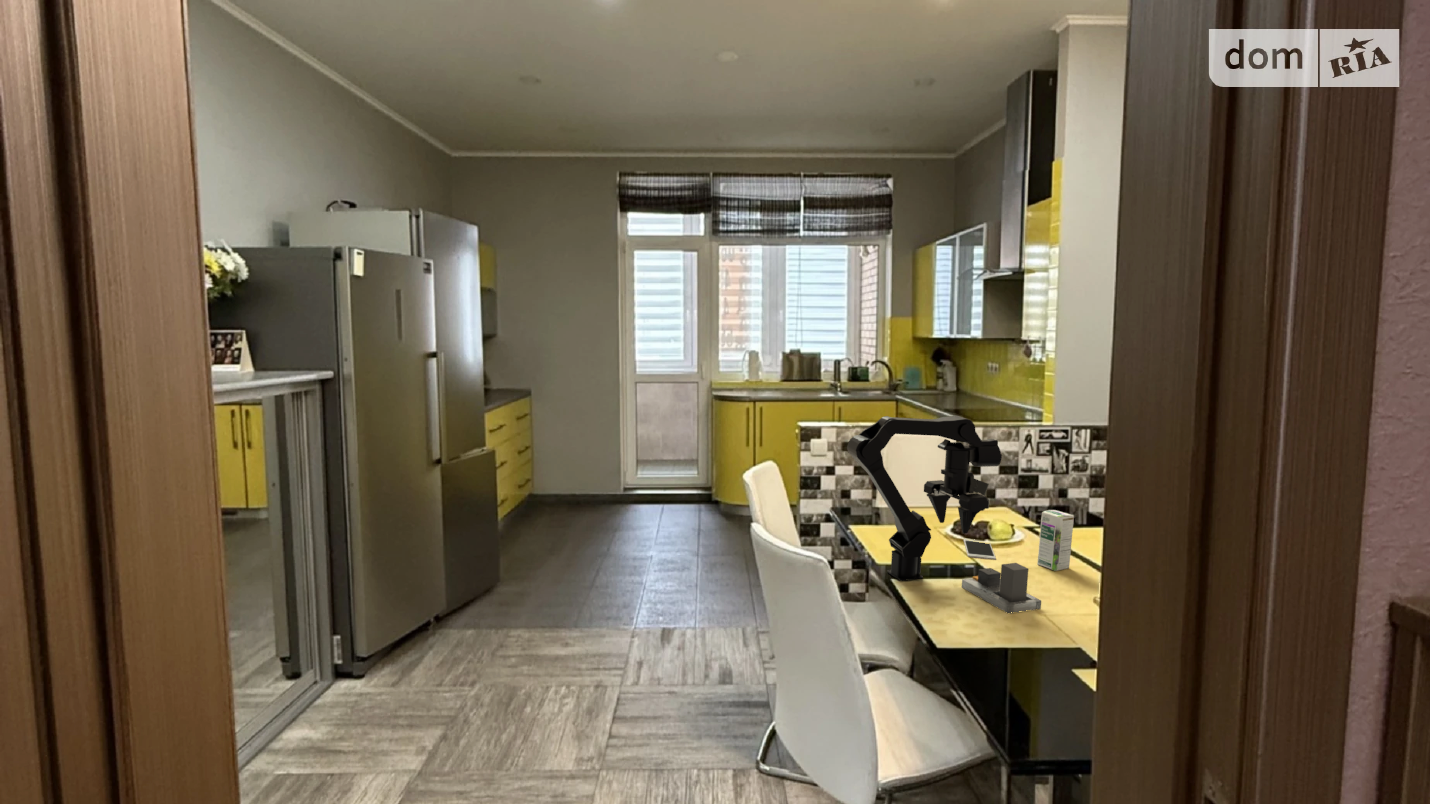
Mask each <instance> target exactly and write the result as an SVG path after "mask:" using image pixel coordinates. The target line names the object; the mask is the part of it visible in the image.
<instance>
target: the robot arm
mask: <svg viewBox="0 0 1430 804" xmlns="http://www.w3.org/2000/svg"><path fill="white" fill-rule="evenodd" d="M895 435H911V436H914V435H916V436H932V437H933V436H935V437H941V438H944V440H943V441H942V442H940V443H939V444H938V445H937V448H939V449H941V450H943V451H945V460H944V469H942V468H941V469H940V474H942V475H944V477H943V480H941V479H937V480H927V481H926V482H925V483H924V485H923V492H924V493H926V497H928V499H929V502H930V503H931V506H932V507H933V510H934V512H935V514H936V516H937V518H938V519H937V520H938V522H939V523H940V524H944V523H945V519H946V513H947V507H948V502H949V500H950V498H953V499H956V500H958V505H959V507H958V506H957V509H958V516H959V521H960V528H961V531H962V534H964V535H965V534H967V533H969V530H970V528H971V526H972V523H973V522H974V519H975V518H976V516H977V514H979V513H980V512H983V511H985V510H986V509H987V510H988V509H989V508H990V500H989V497H987V496H985V495H986V493H987V490H988V487H989V485H990V484H989V483H988V482H984V481H982V480H980V479H977V478H975V475H974V473H973V472H972V471H970V464H971V465H972V466H973V467H975V468H977V467H978V468H979V467H982V468H983V467H987V468H988V467H998V466H1000V464H1001V463H1002V456H1003V455H1002V453H1001V452H1002V451H1001V449H1000V447H999V444H998V442H999V441H998V440H997V439H994V438H987V439H981V438H980V436H979V434H978V433H977V431H976V425H975V423H974V422H973V421H972V420H971V419H968V418H965V417H962V416H959V415H947V416H942V417H938V418H933V419H931V418H914V417H913V418H911V417H910V418H909V417H891V416H889V415H886V416H882V417H880V418H879V419H878V420H877V421H876V422H875V423H874V424H873V423H872V425H870V426H868V427H867V428H865V429H863V430H862V431H861V432H860V433H859V434H858V435H857V434H856V435H854V436H852V437H851V438H850V439H849V441H848V442H847V446H846V449H847V452H848V454H849V455H850V456H851V457H852V459H853V460H854V461H855V462H856V463H858V465H859V466H860V467H861V468H862V469H863V470H864V471H865V472H866V473H867V474H868V476H869V478H870V480H871V481H872V483H873V485H874V487H875V488H876V490H877V492H878V493H879V495H880V496H881V498H882V500H883V501H884V502H885V503H884V504H886V506H887V508H888V509H889V511H890V512H891V514H892V516H893V518H894V524H895V526H894V527H895V528H896V532H895V533H893V535H892V536H891V537H890V538H889V539H888V542H889V544H890V547H891V548H893V549H894V550H891V565H890V569H888V570H886V571H887V574H889V575H890V576H892V577H894V578H896V579H897V580H899V581H903V582H904V581H912V580H921V579H923V578H924V577H923V576H924V575H921V570H922V569H921V568H922V557H923V555H924V552H925V550H926V548H927V547H928V546H929V544H930V543H931V539H932V534H931V533H930V532H931V531H932V529H931V528H930V527H929V526H928V525H927V523H926V519H925V517H924V516H923V515H922V514H919V513H918V512H916V511H915V510H911V509H910V508H909V507H908V505H907V503H906V502H905V500H904V498H903V496H902V495H901V492H899V489H898V488H897V486H896V485H895V483H894V481H893V479H892V478H891V476H890V475H889V473H888V471H887V470H886V468H885V466H884V459H883V455H882V452H881V451H883V449H884V448H886V447H887V445H888V444H889V442H890V440H891V439H892V437H894V436H895ZM951 440H953V442H952V441H951ZM955 441H956V442H955ZM963 443H965V444H969V445H964V444H963Z"/></svg>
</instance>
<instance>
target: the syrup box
mask: <svg viewBox="0 0 1430 804" xmlns="http://www.w3.org/2000/svg"><path fill="white" fill-rule="evenodd" d="M1074 518H1075V514H1070V513H1067V512H1063V511H1060V510H1058V509H1057V510H1056V509H1048V510H1044V511H1042V512H1041V520H1040V530H1039V531H1040V532H1039V543H1038V544H1039V545H1038V555H1037V565H1038V566H1042V567H1045V568H1046V569H1049V570H1051V571H1054V572H1057V571H1062V570H1066V569H1067V570H1068V569H1069V568H1070V562H1071V552H1072V542H1073V531H1074V530H1073V529H1074Z"/></svg>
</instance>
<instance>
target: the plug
mask: <svg viewBox="0 0 1430 804" xmlns="http://www.w3.org/2000/svg"><path fill="white" fill-rule="evenodd" d="M1000 573H1001V577H1000V579H1001V580H1000V594H999V596H1000V597H1002V598H1004V599H1005V600H1007V601H1009V602H1011V603H1012V602H1019V601H1026V594H1027V593H1028V579H1029V568H1028V567H1026V566H1023V565H1022V564H1020V563H1017V562H1010V563H1009V562H1008V563H1002V564H1001V567H1000Z"/></svg>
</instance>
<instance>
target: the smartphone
mask: <svg viewBox="0 0 1430 804" xmlns="http://www.w3.org/2000/svg"><path fill="white" fill-rule="evenodd" d="M967 539H968V538H963V543H964V546H965V551H966V554H967V555H966V556H967V557H968V558H973V559H975V558H976V559H985V560H995V561H996V555H995V551H994V550H993V547H992V544H991V543H990V544H985V543H979V542H973V541H969V540H967Z"/></svg>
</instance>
